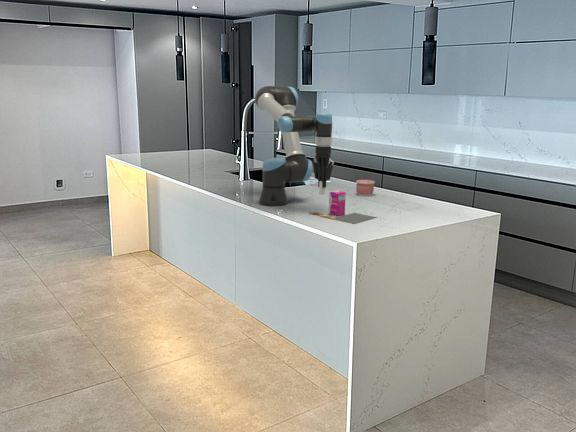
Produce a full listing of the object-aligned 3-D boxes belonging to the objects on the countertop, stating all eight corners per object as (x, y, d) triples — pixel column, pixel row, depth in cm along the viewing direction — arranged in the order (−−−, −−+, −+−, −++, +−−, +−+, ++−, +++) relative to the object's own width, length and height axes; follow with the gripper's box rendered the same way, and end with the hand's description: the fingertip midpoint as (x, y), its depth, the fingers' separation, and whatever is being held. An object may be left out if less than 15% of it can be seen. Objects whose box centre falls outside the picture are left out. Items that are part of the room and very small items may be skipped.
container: (363, 197, 312) (364, 183, 310) (351, 194, 321) (352, 180, 319) (377, 195, 318) (378, 181, 316) (365, 192, 326) (366, 179, 324)
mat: (331, 219, 259) (331, 218, 258) (354, 213, 272) (354, 212, 272) (354, 224, 250) (354, 223, 250) (376, 218, 263) (376, 217, 263)
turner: (307, 214, 268) (307, 211, 268) (311, 213, 270) (311, 211, 270) (333, 219, 258) (333, 216, 258) (337, 218, 260) (337, 215, 260)
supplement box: (328, 215, 268) (328, 191, 265) (336, 213, 272) (336, 190, 269) (337, 217, 264) (338, 193, 261) (345, 215, 268) (346, 191, 265)
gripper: (308, 145, 268) (306, 193, 273) (329, 147, 259) (327, 196, 265) (317, 144, 273) (316, 191, 279) (339, 146, 265) (337, 194, 270)
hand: (321, 194), depth 272 cm, fingers closed
